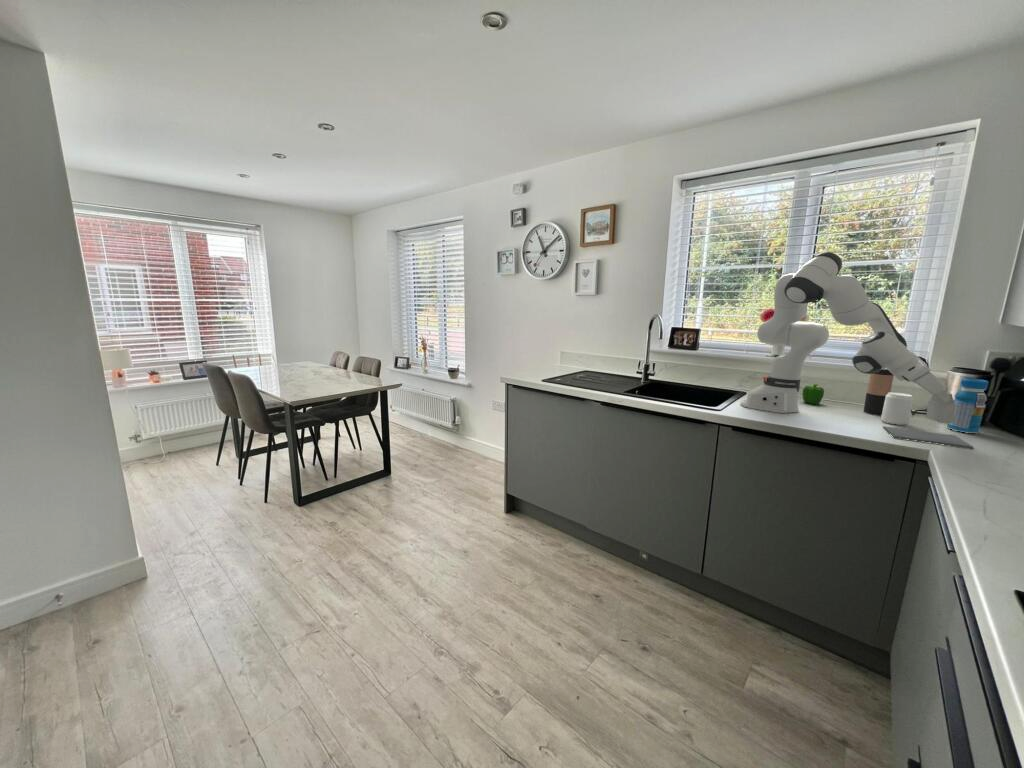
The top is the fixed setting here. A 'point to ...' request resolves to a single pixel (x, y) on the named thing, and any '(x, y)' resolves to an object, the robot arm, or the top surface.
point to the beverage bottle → (969, 405)
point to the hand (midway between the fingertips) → (942, 398)
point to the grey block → (941, 409)
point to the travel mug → (878, 391)
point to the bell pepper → (813, 394)
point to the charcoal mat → (927, 437)
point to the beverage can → (897, 408)
